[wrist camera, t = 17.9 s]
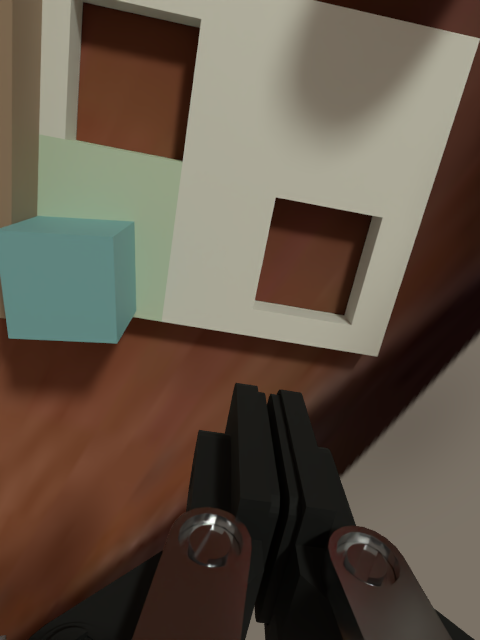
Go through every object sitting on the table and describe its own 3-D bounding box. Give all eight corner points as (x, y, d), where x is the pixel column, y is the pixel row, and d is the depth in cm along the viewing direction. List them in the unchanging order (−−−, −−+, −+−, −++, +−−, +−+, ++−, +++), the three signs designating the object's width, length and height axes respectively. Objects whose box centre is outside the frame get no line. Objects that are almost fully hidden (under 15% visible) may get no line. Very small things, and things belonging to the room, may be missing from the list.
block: (134, 221, 28) (113, 237, 23) (136, 310, 30) (117, 343, 25) (37, 215, 28) (-6, 230, 23) (46, 306, 30) (8, 338, 25)
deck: (462, 46, 27) (518, 21, 22) (369, 345, 34) (394, 380, 28) (39, -51, 25) (-11, -104, 19) (32, 290, 31) (-7, 316, 26)
